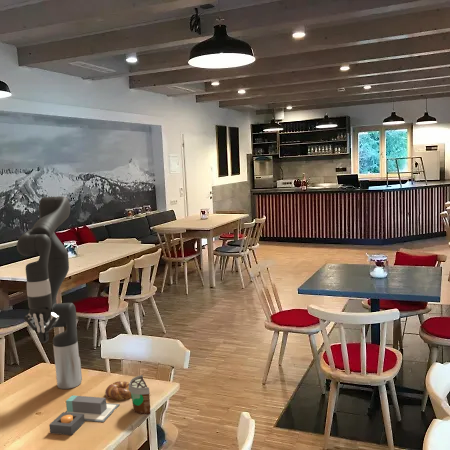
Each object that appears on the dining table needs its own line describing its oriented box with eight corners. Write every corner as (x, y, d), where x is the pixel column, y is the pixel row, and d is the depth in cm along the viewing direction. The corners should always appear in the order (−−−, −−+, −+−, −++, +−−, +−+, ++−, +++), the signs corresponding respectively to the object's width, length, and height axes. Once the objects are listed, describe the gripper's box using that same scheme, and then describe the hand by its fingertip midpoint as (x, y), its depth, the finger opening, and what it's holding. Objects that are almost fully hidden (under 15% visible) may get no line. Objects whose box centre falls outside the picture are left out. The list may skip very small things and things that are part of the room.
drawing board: (77, 401, 180) (77, 400, 180) (119, 405, 176) (119, 403, 176) (59, 418, 168) (58, 417, 168) (103, 422, 164) (103, 420, 164)
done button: (65, 421, 164) (64, 414, 164) (75, 422, 163) (74, 415, 163) (59, 427, 160) (58, 420, 160) (69, 428, 160) (68, 421, 159)
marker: (106, 408, 172) (105, 397, 172) (101, 414, 169) (100, 403, 168) (73, 405, 176) (72, 395, 175) (66, 411, 172) (65, 400, 172)
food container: (127, 403, 176) (125, 377, 175) (144, 400, 178) (142, 374, 177) (133, 419, 165) (131, 391, 164) (151, 415, 167) (149, 387, 166)
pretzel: (141, 395, 183) (141, 386, 182) (114, 405, 177) (113, 395, 176) (127, 384, 193) (126, 375, 192) (101, 393, 186) (100, 384, 186)
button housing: (63, 420, 167) (63, 412, 166) (84, 422, 165) (84, 413, 164) (50, 433, 159) (49, 424, 159) (71, 435, 157) (71, 426, 157)
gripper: (62, 290, 167) (67, 338, 169) (29, 289, 170) (34, 337, 172) (49, 296, 160) (54, 346, 162) (15, 295, 163) (20, 345, 165)
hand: (44, 341), depth 167 cm, fingers closed
